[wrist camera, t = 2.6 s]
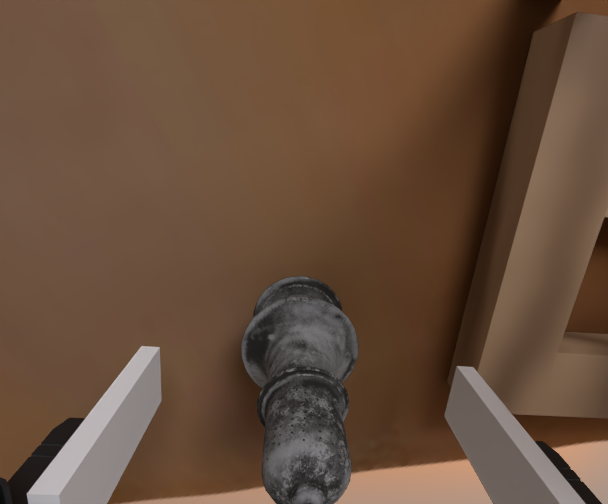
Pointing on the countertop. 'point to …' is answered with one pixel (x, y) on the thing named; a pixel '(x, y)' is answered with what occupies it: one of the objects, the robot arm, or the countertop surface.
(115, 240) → the countertop surface
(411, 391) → the countertop surface
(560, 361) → the socket
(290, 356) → the grey chess piece
